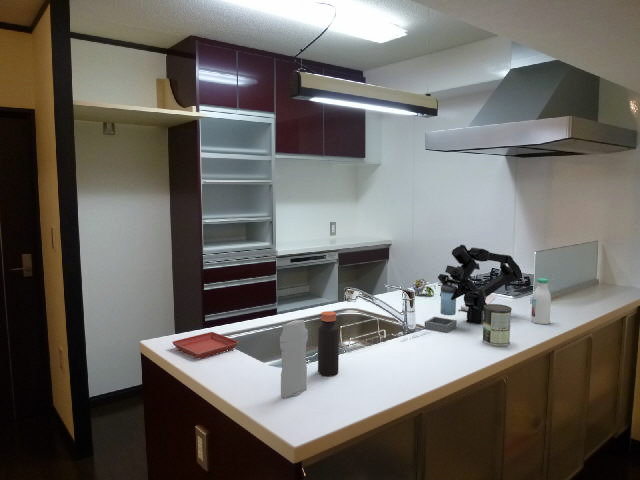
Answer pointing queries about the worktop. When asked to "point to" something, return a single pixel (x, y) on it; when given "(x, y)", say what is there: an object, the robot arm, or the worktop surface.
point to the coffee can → (496, 324)
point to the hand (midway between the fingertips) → (446, 297)
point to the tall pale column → (293, 358)
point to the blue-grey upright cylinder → (448, 300)
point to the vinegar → (328, 345)
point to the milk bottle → (541, 303)
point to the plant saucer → (205, 344)
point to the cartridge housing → (440, 324)
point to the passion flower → (422, 287)
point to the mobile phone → (488, 301)
